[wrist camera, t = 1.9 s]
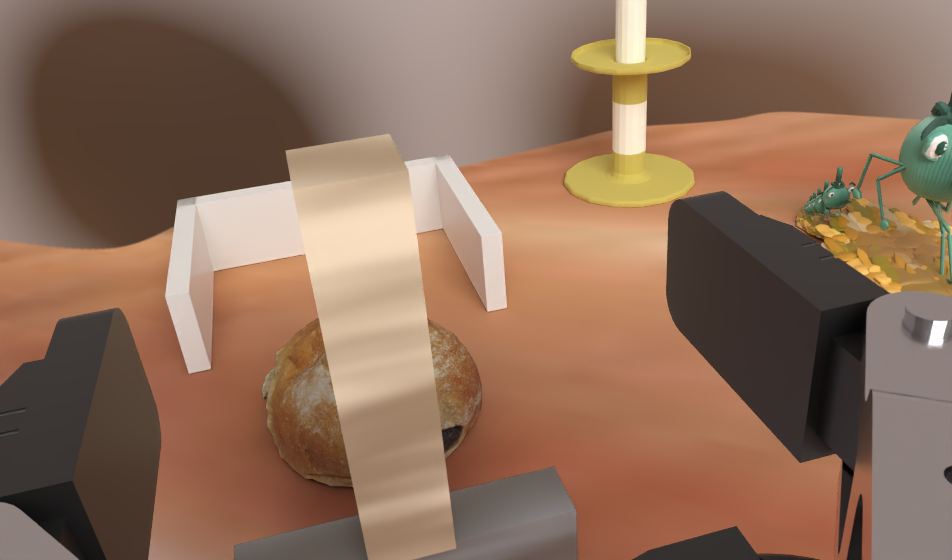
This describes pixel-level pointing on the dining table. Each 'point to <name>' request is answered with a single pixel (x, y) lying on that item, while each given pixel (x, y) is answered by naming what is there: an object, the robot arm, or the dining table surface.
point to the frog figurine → (895, 215)
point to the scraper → (395, 385)
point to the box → (279, 236)
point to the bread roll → (315, 411)
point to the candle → (630, 118)
